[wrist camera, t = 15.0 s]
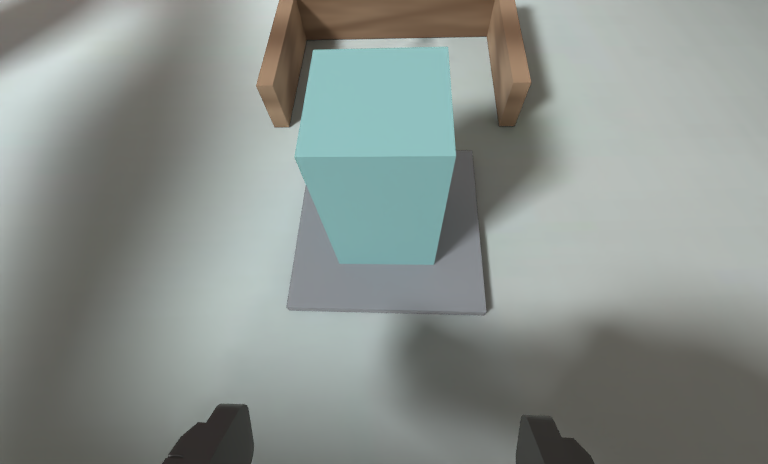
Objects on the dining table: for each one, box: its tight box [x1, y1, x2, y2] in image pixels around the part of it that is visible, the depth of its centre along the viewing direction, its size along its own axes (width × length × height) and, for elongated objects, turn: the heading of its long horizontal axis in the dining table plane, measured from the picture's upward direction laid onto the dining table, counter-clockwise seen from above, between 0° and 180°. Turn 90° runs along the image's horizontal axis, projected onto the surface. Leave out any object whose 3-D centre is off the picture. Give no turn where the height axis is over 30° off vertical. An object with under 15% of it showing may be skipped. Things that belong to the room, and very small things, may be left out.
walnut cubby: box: [256, 0, 531, 127], centre depth 25 cm, size 10×16×4 cm, turn 88°
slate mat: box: [286, 151, 486, 315], centre depth 21 cm, size 10×10×1 cm
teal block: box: [295, 47, 456, 265], centre depth 16 cm, size 5×5×9 cm
